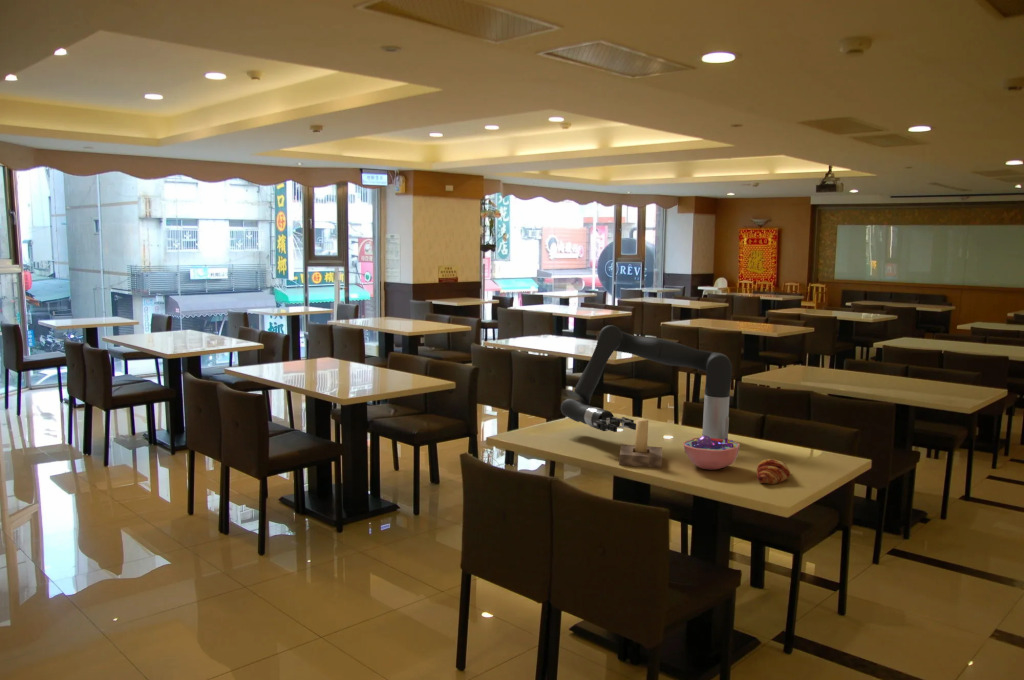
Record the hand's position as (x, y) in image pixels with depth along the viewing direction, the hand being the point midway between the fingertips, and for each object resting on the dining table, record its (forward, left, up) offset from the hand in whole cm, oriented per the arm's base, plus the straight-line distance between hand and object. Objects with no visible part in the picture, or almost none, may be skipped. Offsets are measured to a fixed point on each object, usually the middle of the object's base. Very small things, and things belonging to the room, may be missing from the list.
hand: (626, 428), depth 266 cm
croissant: (-48, +16, -10) cm, 51 cm away
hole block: (-6, +7, -9) cm, 13 cm away
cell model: (-29, +9, -10) cm, 31 cm away
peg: (-5, +7, -10) cm, 13 cm away
